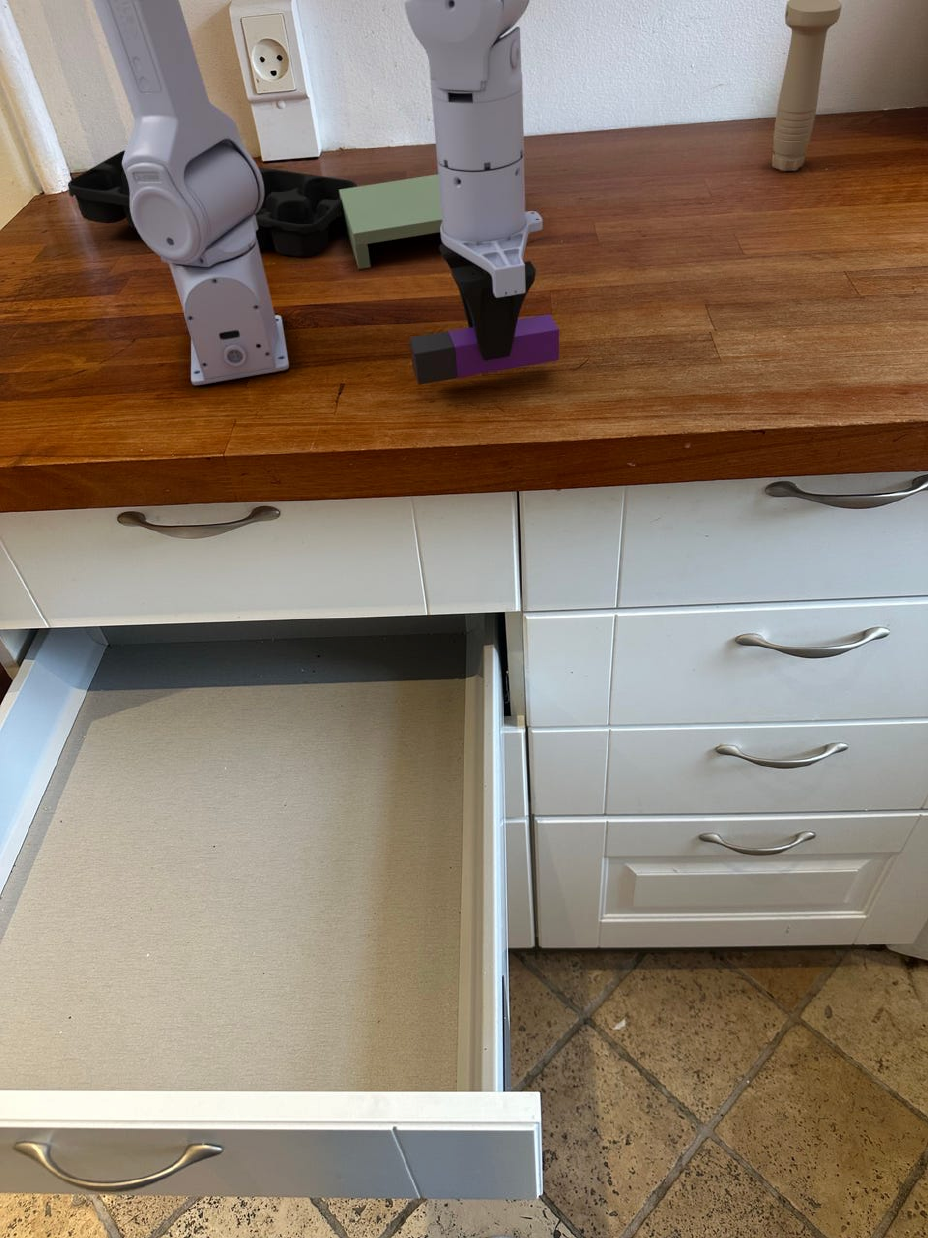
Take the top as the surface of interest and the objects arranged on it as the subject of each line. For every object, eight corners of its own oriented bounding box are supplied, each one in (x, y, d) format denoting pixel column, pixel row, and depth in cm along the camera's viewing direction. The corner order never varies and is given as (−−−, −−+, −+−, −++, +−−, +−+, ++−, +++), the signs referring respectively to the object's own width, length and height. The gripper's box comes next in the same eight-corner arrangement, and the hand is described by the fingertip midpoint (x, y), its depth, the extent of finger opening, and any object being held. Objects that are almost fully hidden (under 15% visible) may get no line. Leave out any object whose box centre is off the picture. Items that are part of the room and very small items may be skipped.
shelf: (518, 243, 90) (517, 206, 88) (358, 269, 89) (353, 233, 86) (490, 200, 99) (489, 165, 96) (344, 223, 97) (338, 189, 95)
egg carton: (114, 178, 105) (106, 143, 103) (371, 194, 103) (369, 159, 100) (49, 245, 93) (38, 207, 90) (339, 264, 91) (336, 226, 88)
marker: (559, 360, 70) (559, 328, 68) (418, 385, 69) (414, 353, 67) (549, 344, 72) (549, 313, 70) (412, 368, 71) (408, 337, 69)
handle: (804, 155, 101) (832, -7, 90) (816, 176, 96) (847, 9, 86) (759, 157, 101) (782, -3, 91) (769, 179, 97) (794, 13, 86)
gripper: (571, 184, 55) (569, 384, 65) (512, 115, 65) (518, 296, 75) (457, 202, 54) (472, 402, 64) (415, 129, 65) (433, 310, 74)
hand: (491, 346), depth 69 cm, fingers closed on marker, 2 cm apart
